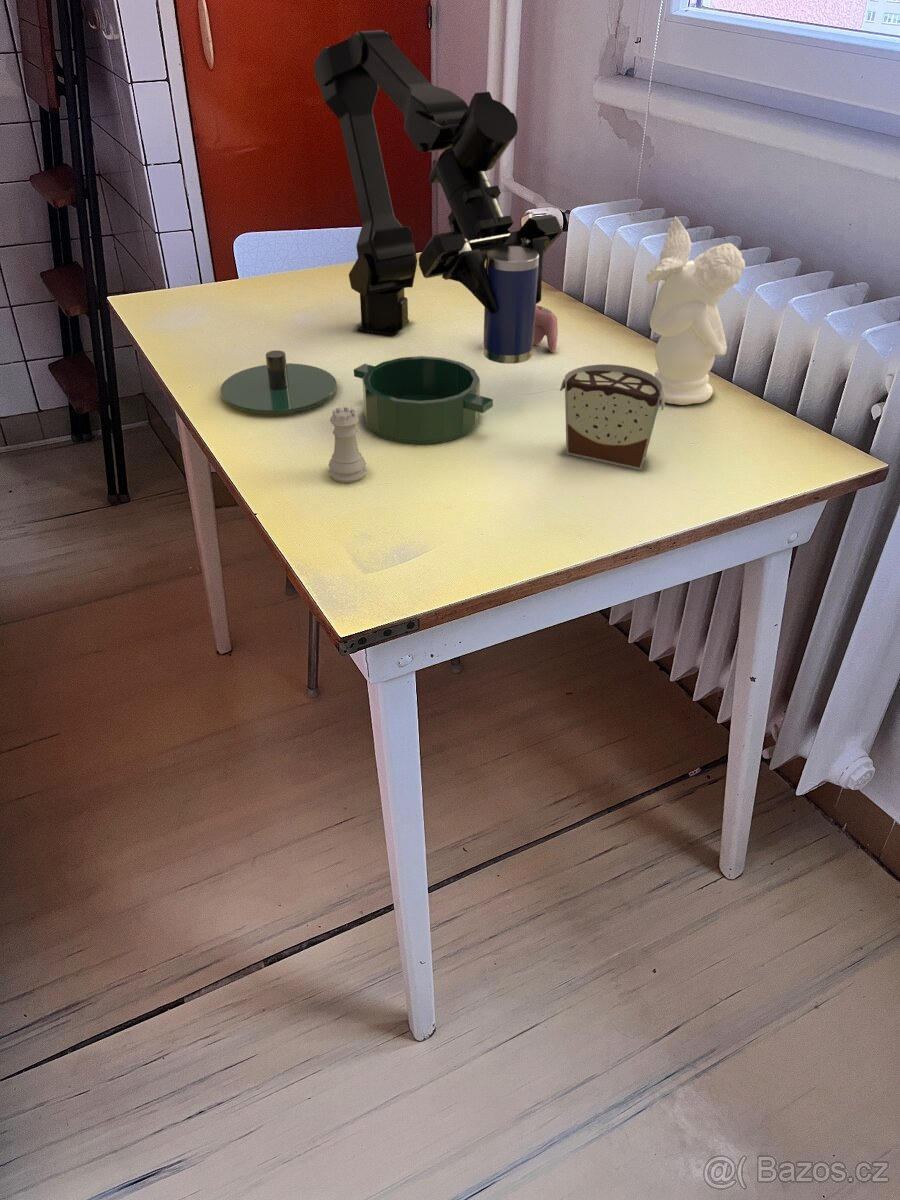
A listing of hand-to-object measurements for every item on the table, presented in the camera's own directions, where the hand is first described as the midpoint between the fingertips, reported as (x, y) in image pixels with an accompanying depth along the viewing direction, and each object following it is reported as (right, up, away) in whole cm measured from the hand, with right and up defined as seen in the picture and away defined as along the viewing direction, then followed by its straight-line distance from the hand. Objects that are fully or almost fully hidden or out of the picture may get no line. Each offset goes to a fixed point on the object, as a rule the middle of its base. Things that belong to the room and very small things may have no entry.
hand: (516, 307), depth 117 cm
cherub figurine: (+21, -9, +11) cm, 25 cm away
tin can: (-1, -5, +5) cm, 7 cm away
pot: (-12, -13, +5) cm, 18 cm away
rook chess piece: (-20, -22, -7) cm, 31 cm away
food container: (+11, -19, -2) cm, 22 cm away
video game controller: (+3, +2, +25) cm, 26 cm away
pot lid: (-32, -8, +10) cm, 34 cm away
